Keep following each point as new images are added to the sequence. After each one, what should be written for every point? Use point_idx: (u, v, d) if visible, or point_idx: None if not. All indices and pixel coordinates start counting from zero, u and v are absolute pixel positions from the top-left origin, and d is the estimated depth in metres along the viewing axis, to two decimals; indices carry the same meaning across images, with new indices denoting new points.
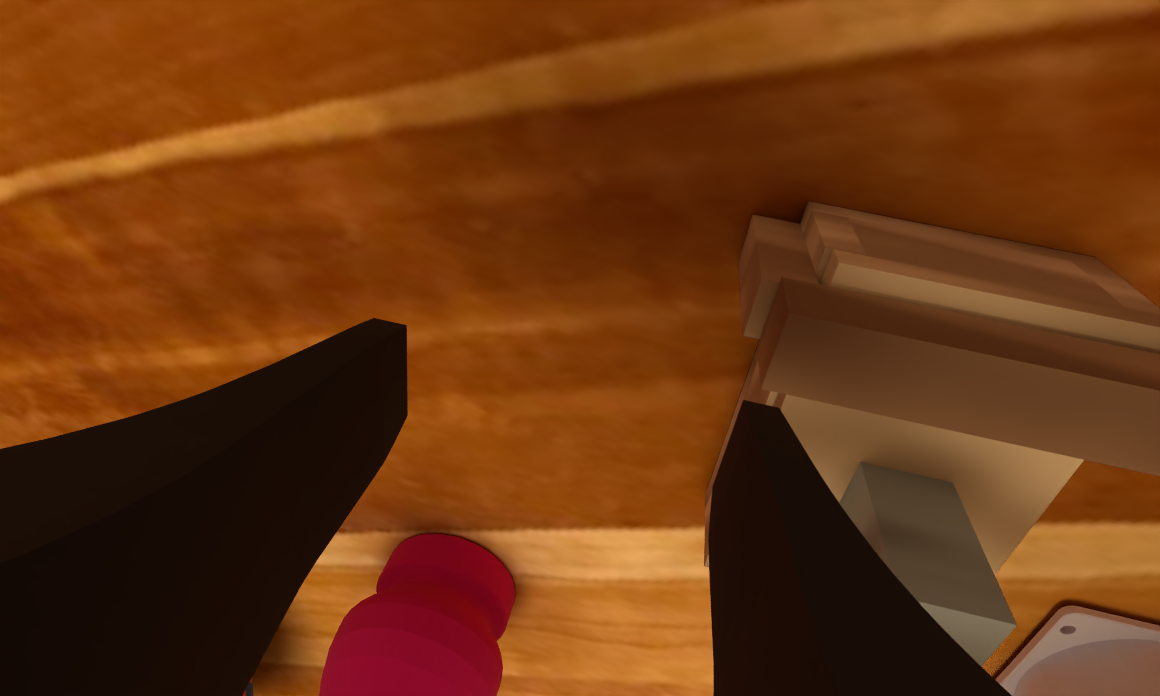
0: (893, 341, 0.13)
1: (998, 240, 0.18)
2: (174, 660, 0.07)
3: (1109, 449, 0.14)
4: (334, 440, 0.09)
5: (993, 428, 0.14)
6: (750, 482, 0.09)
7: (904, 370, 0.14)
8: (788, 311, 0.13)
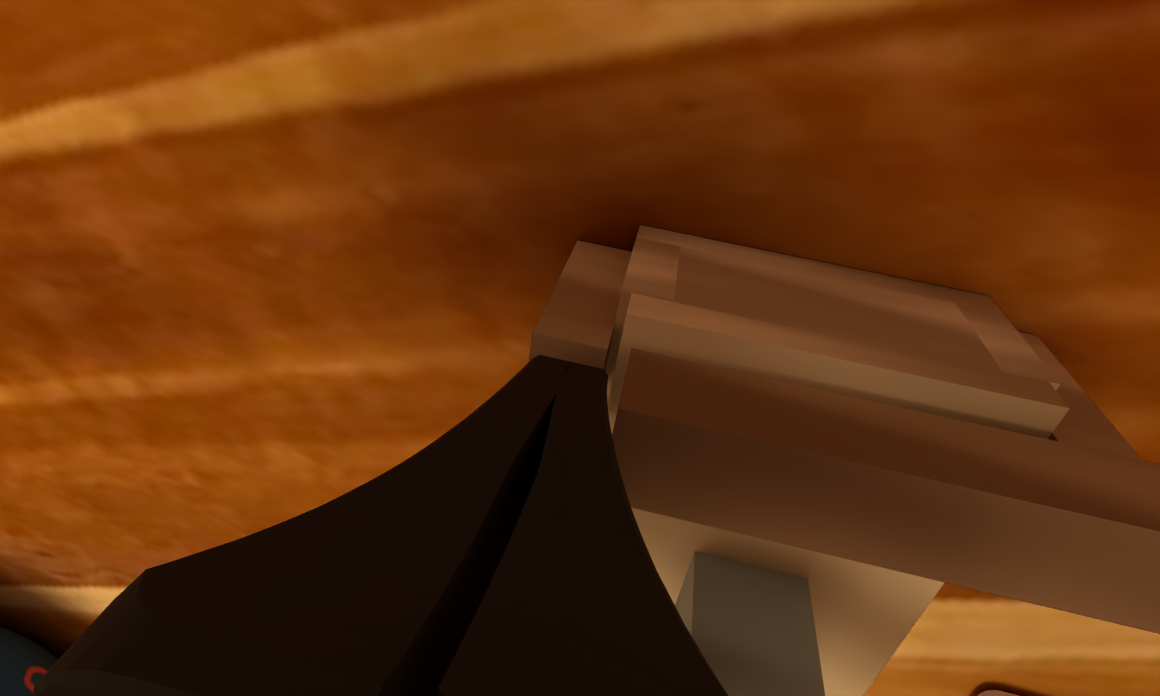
0: (760, 448, 0.10)
1: (869, 275, 0.14)
2: None
3: (1056, 590, 0.10)
4: (527, 486, 0.09)
5: (902, 559, 0.10)
6: None
7: (778, 484, 0.10)
8: (619, 404, 0.10)
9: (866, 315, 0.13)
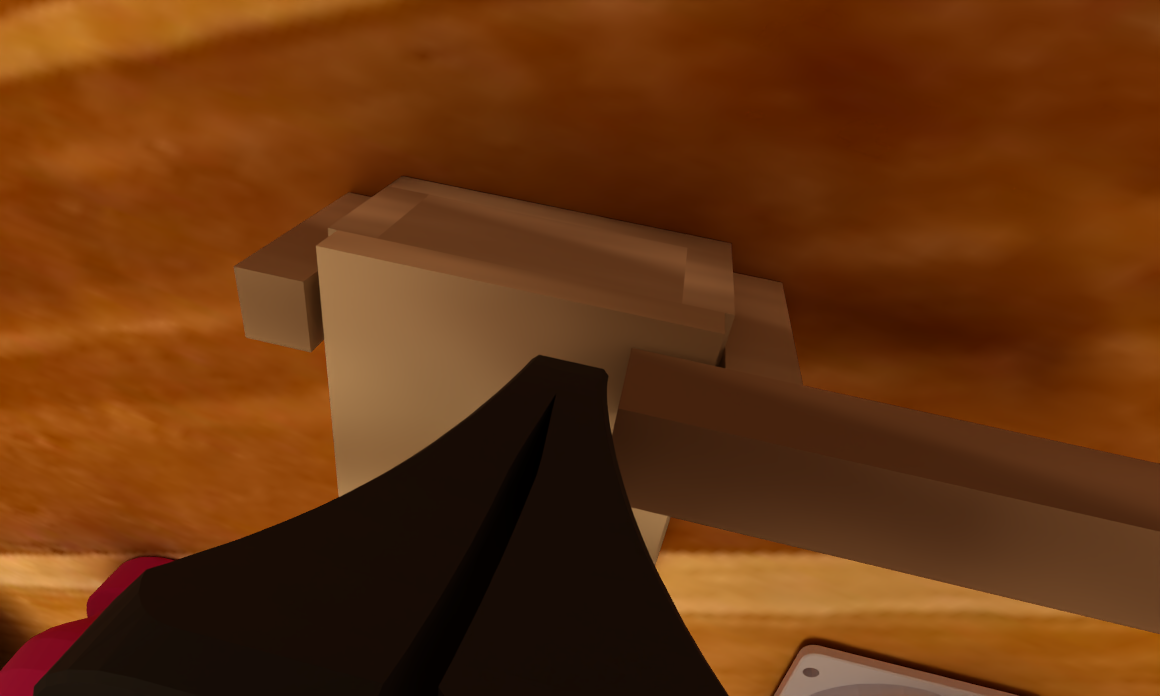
0: (759, 448, 0.10)
1: (615, 222, 0.15)
2: None
3: (1056, 590, 0.10)
4: (527, 487, 0.09)
5: (902, 559, 0.10)
6: None
7: (778, 484, 0.10)
8: None
9: (578, 254, 0.13)
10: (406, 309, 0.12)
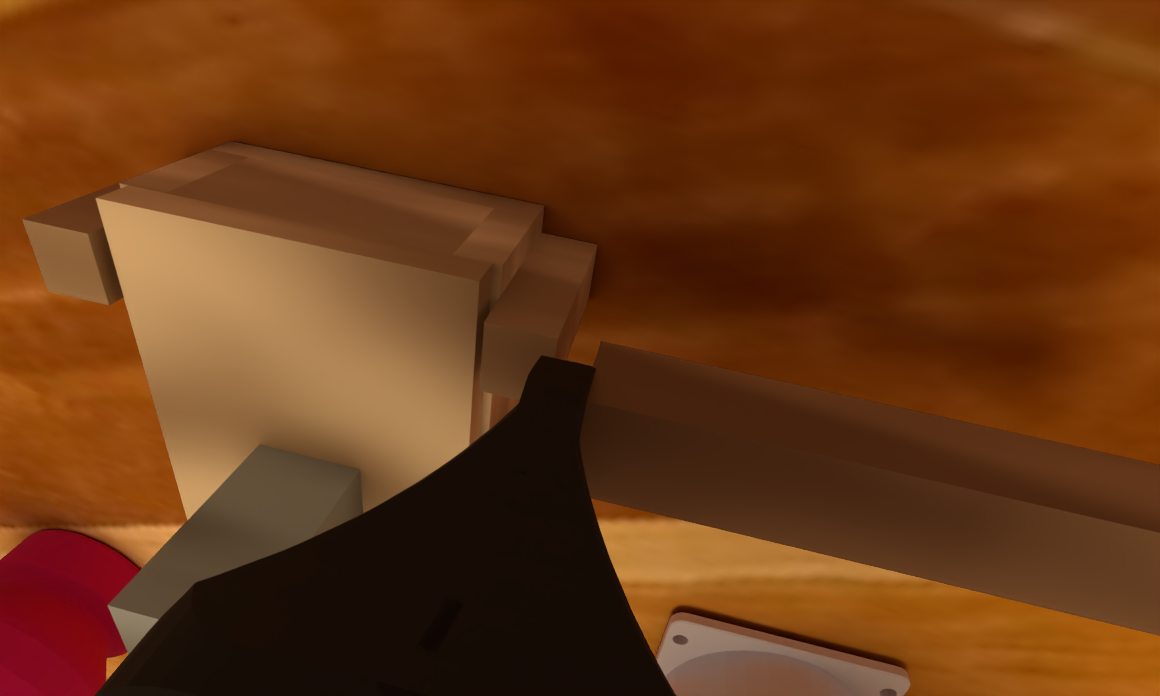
0: (723, 440, 0.10)
1: (431, 185, 0.15)
2: None
3: (1021, 583, 0.10)
4: None
5: (867, 551, 0.10)
6: None
7: (743, 476, 0.10)
8: None
9: (371, 211, 0.13)
10: (189, 261, 0.12)
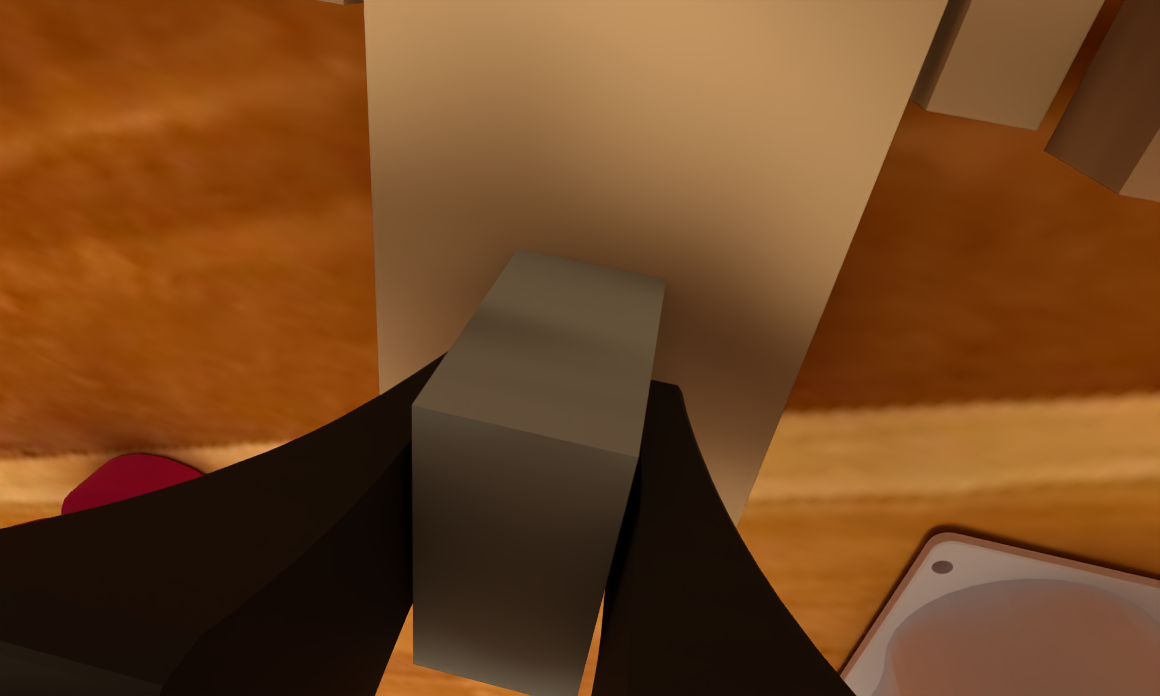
0: None
1: None
2: None
3: None
4: None
5: None
6: None
7: None
8: None
9: None
10: None
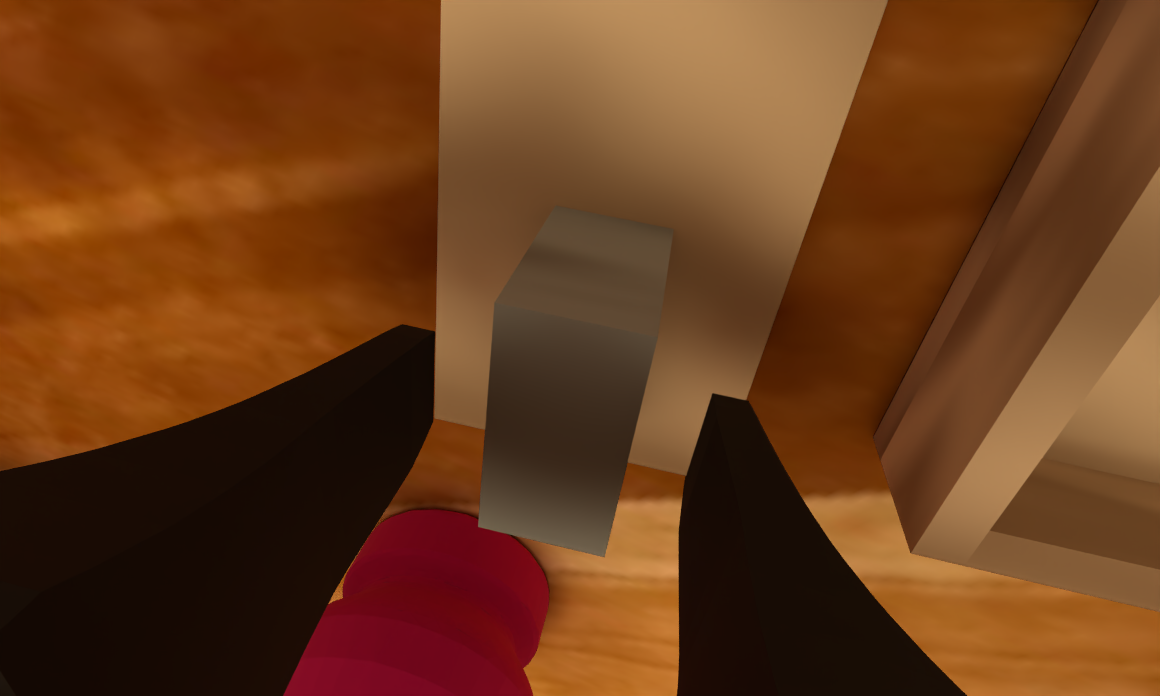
0: None
1: None
2: (218, 672, 0.07)
3: None
4: (367, 448, 0.09)
5: None
6: (714, 474, 0.09)
7: None
8: None
9: None
10: None
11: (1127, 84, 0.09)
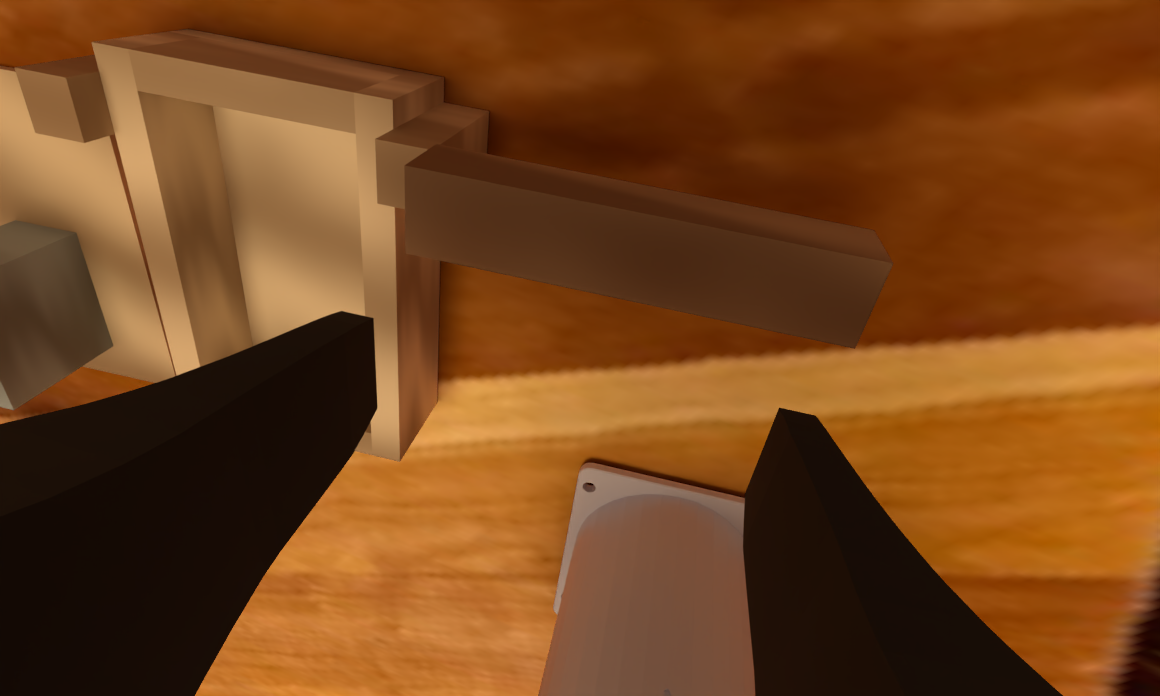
0: (508, 193, 0.13)
1: (351, 61, 0.18)
2: (123, 646, 0.07)
3: (737, 306, 0.13)
4: (297, 432, 0.09)
5: (626, 287, 0.14)
6: (792, 491, 0.09)
7: (527, 225, 0.13)
8: (406, 164, 0.13)
9: (295, 69, 0.17)
10: None
11: None
